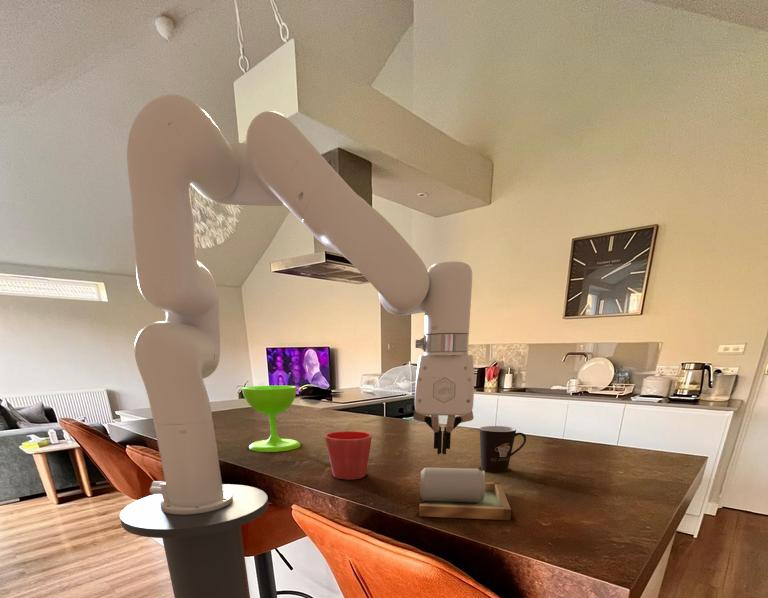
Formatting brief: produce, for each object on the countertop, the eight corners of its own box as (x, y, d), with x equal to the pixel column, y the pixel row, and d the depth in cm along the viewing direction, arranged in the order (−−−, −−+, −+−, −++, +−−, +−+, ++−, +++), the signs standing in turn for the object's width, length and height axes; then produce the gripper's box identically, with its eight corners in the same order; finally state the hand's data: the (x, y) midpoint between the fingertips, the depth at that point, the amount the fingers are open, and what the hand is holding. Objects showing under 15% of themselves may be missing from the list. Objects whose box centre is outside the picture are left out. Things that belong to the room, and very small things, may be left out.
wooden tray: (419, 516, 74) (419, 505, 74) (424, 489, 89) (424, 480, 89) (510, 520, 72) (511, 509, 71) (499, 491, 87) (500, 482, 87)
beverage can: (419, 493, 77) (486, 495, 75) (421, 461, 79) (486, 463, 77) (419, 505, 83) (482, 507, 81) (421, 475, 85) (482, 477, 83)
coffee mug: (476, 472, 101) (480, 431, 98) (476, 464, 109) (478, 425, 106) (527, 474, 100) (532, 432, 96) (522, 466, 107) (527, 426, 104)
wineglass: (302, 450, 128) (298, 388, 121) (247, 453, 124) (240, 389, 117) (298, 440, 142) (294, 385, 136) (249, 443, 138) (242, 386, 132)
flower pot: (381, 473, 102) (381, 433, 98) (353, 484, 93) (352, 440, 90) (346, 467, 107) (345, 429, 104) (317, 477, 98) (315, 436, 95)
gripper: (400, 346, 69) (399, 456, 76) (493, 345, 67) (484, 458, 74) (404, 347, 76) (403, 447, 82) (488, 346, 74) (481, 449, 81)
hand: (441, 452), depth 78 cm, fingers closed
